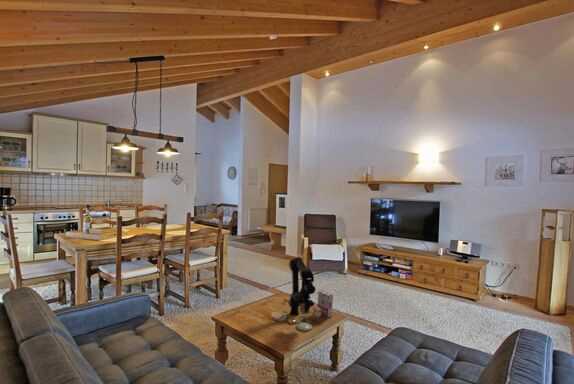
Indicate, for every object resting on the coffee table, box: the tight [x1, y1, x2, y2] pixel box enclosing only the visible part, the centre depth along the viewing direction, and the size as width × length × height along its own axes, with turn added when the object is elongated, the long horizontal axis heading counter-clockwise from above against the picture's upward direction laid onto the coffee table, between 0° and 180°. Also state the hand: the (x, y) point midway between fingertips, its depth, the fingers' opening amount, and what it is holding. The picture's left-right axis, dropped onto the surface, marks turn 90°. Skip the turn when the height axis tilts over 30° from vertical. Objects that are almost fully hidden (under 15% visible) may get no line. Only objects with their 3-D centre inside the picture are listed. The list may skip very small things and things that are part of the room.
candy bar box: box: [317, 289, 334, 318], centre depth 224 cm, size 11×5×16 cm, turn 37°
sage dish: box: [296, 322, 312, 332], centre depth 202 cm, size 10×10×1 cm
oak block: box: [312, 306, 322, 316], centre depth 213 cm, size 4×4×4 cm
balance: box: [288, 313, 322, 325], centre depth 211 cm, size 24×6×5 cm, turn 104°
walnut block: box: [299, 304, 311, 315], centre depth 202 cm, size 5×5×5 cm
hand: (304, 311), depth 202 cm, fingers closed on walnut block, 5 cm apart
